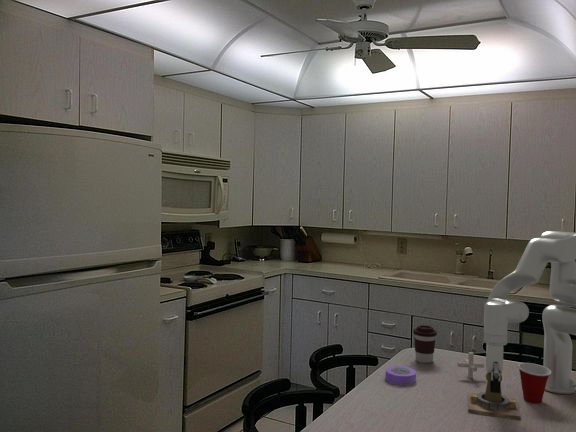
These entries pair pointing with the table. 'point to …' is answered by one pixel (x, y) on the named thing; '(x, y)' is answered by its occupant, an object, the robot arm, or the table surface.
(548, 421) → the table surface
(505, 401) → the socket
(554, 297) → the robot arm
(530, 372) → the plastic cup
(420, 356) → the coffee cup
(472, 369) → the pipe connector
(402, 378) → the masking tape
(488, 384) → the olive knobbed peg
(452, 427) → the table surface
